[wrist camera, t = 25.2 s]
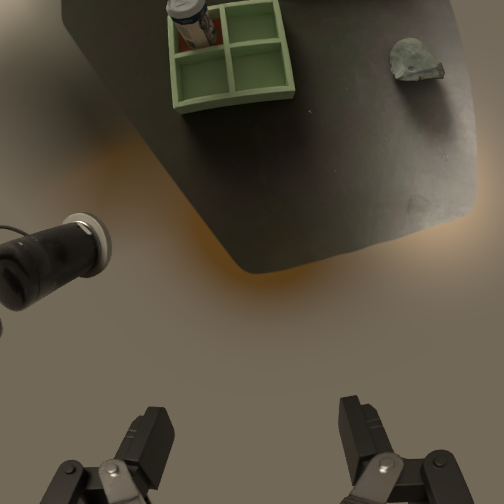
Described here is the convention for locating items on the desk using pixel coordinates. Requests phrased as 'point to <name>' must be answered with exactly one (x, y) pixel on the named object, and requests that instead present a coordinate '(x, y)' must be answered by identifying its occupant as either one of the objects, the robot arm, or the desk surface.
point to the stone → (414, 61)
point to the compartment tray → (233, 59)
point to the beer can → (193, 22)
